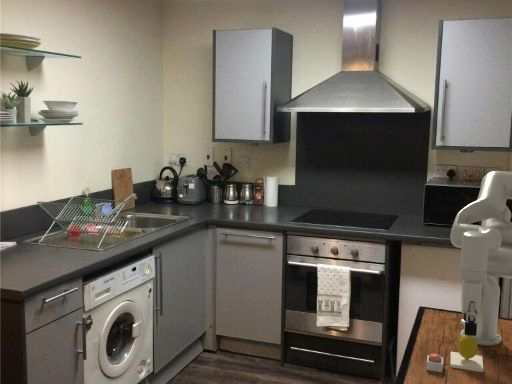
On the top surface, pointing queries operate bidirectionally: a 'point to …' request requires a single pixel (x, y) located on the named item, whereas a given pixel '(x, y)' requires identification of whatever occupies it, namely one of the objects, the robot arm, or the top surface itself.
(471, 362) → the paper pad
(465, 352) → the lemon
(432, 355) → the button
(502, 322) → the top surface
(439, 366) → the button base
